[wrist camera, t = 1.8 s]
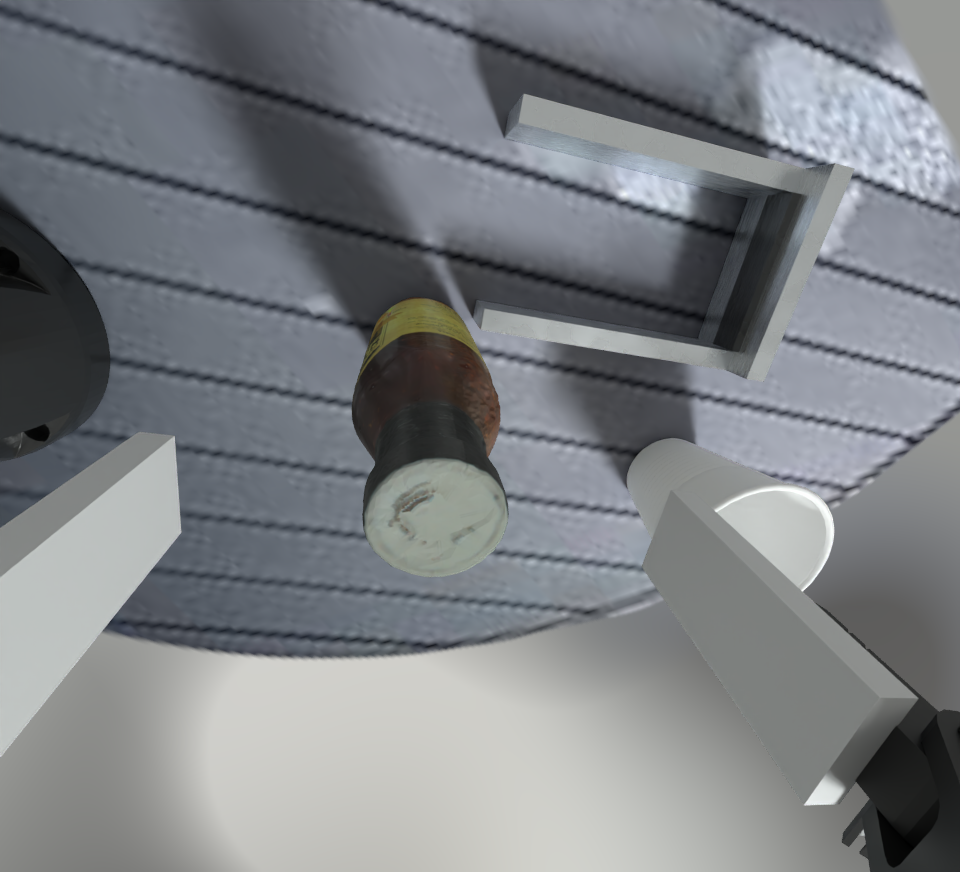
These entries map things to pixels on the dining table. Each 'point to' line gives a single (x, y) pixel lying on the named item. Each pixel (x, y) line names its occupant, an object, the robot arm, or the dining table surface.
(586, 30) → the dining table surface
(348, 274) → the dining table surface
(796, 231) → the frame
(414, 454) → the sauce bottle
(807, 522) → the cup
